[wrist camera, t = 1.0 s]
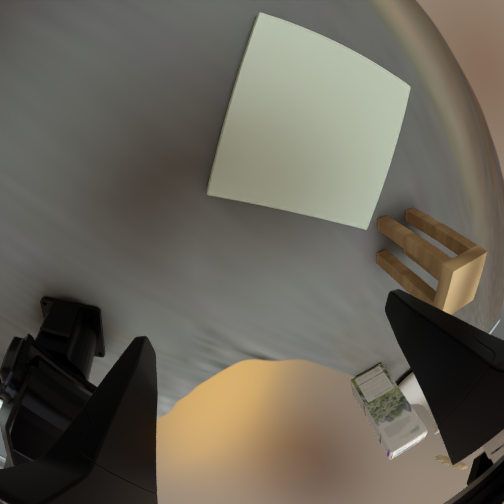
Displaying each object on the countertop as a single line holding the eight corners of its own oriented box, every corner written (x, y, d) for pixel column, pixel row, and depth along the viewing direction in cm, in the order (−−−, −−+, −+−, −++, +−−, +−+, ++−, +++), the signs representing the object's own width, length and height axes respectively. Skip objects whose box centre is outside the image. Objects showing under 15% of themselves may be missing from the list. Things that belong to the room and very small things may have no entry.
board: (360, 225, 24) (366, 229, 23) (206, 191, 19) (207, 195, 18) (403, 86, 18) (410, 86, 17) (256, 16, 14) (259, 12, 13)
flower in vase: (388, 381, 40) (453, 483, 19) (436, 348, 40) (505, 437, 19) (387, 405, 47) (437, 488, 25) (428, 377, 47) (481, 453, 25)
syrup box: (352, 394, 39) (389, 461, 26) (349, 378, 36) (392, 455, 23) (381, 377, 39) (422, 441, 26) (381, 360, 36) (429, 431, 23)
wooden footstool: (376, 262, 26) (438, 322, 17) (377, 218, 24) (453, 271, 15) (410, 249, 26) (473, 299, 18) (414, 207, 24) (487, 251, 15)
